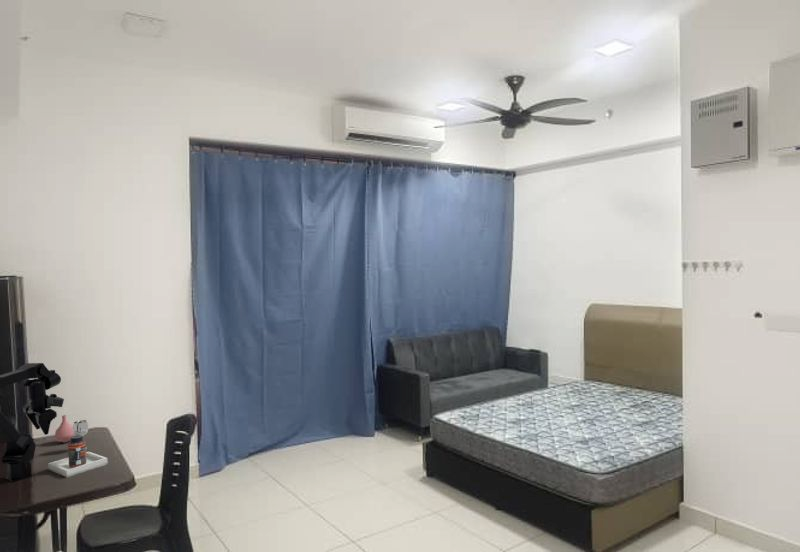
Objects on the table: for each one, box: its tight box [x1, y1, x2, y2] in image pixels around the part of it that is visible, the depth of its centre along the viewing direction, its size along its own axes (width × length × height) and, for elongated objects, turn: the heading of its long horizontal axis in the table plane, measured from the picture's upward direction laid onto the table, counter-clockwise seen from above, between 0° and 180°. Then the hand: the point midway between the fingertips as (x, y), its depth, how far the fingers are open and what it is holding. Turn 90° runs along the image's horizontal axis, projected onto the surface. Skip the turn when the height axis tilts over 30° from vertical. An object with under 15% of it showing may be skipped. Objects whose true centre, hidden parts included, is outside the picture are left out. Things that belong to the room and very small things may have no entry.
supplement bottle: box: [67, 435, 87, 467], centre depth 212 cm, size 6×6×11 cm
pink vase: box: [54, 414, 75, 444], centre depth 243 cm, size 8×8×12 cm
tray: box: [48, 451, 109, 478], centre depth 212 cm, size 15×15×2 cm
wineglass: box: [72, 419, 89, 450], centre depth 233 cm, size 6×6×12 cm
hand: (42, 431), depth 215 cm, fingers open, 9 cm apart
